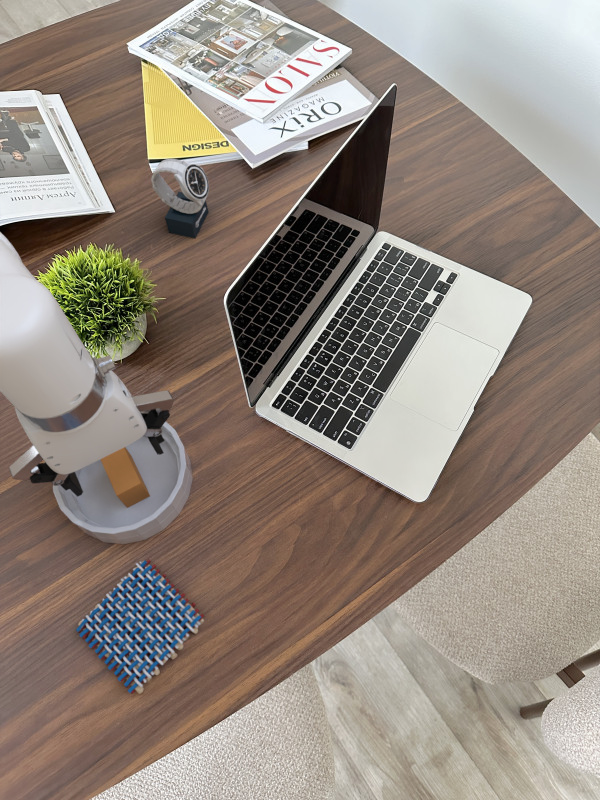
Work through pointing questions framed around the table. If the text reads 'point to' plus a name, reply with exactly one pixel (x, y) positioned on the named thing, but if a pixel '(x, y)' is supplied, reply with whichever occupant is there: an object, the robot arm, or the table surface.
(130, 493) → the brown rectangular block
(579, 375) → the table surface
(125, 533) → the gray bowl
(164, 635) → the woven mat
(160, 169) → the watch
